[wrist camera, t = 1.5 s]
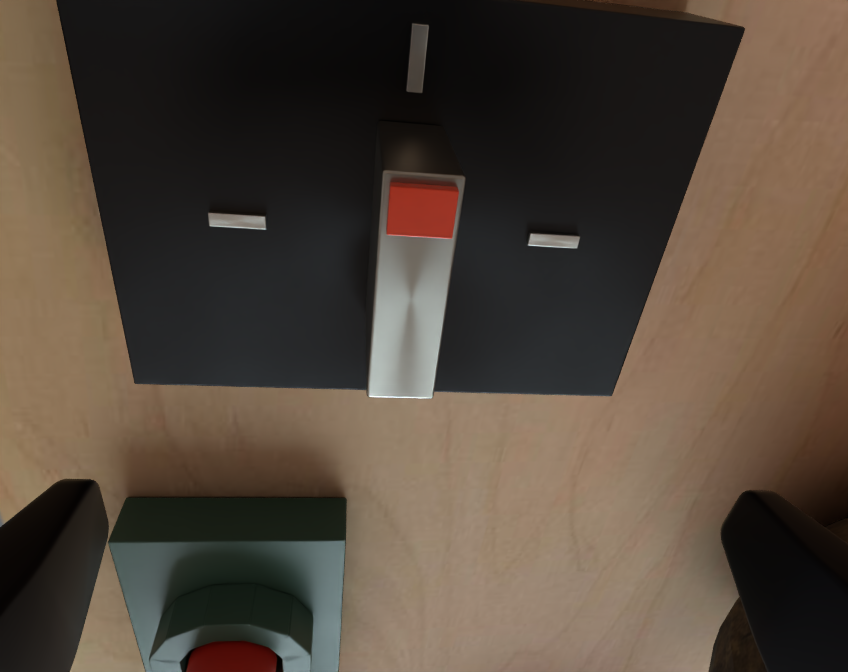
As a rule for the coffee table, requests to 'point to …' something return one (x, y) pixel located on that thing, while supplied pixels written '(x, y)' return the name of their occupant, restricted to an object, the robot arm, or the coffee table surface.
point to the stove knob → (410, 257)
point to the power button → (232, 657)
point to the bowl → (747, 632)
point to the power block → (233, 577)
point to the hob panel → (354, 177)
